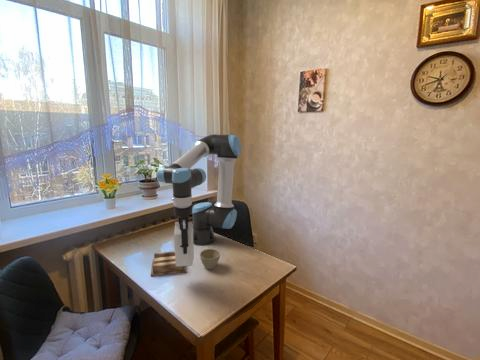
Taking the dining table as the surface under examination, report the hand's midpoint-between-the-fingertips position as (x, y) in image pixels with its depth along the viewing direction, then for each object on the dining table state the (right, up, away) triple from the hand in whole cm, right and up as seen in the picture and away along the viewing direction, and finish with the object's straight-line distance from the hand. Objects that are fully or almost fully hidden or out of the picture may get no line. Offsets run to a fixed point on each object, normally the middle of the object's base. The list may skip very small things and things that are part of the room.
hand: (184, 254), depth 109 cm
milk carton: (0, -4, +1) cm, 4 cm away
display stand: (-11, -10, +14) cm, 21 cm away
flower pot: (+9, -11, +15) cm, 21 cm away
